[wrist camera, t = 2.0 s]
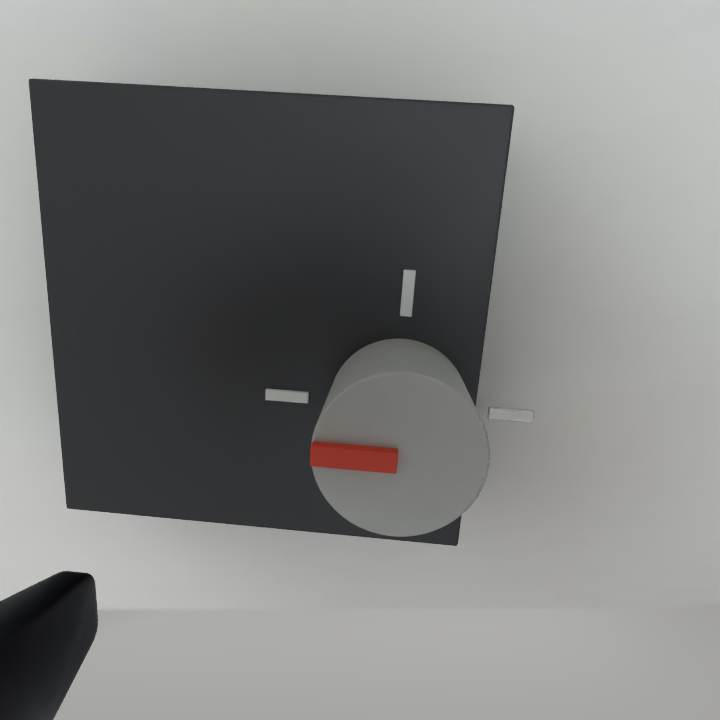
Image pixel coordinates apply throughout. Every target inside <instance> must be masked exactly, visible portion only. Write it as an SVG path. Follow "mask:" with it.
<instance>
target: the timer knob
mask: <svg viewBox="0 0 720 720" xmlns="http://www.w3.org/2000/svg"><path fill="white" fill-rule="evenodd" d="M489 459H490V450H489V441H488V437H487V432H486V430H485V427H484V424H483V422H482V420H481V418H480V416H479V414H478V411H477V409H476V407H475V405H474V403H473V401H472V399H471V397H470V395H469V393H468V390H467V388H466V386H465V384H464V382H463V380H462V378H461V376H460V374H459V372H458V371H457V369H456V368H455V366H454V365H453V364H452V362H451V361H450V360H449V359H448V358H447V357H446V356H445V355H443V354H442V353H441V352H439V351H438V350H436V349H435V348H433V347H431V346H429V345H427V344H424V343H422V342H418V341H415V340H410V339H386V340H382V341H378V342H375V343H372V344H369V345H367V346H365V347H363V348H362V349H360V350H358V351H357V352H356V353H354V354H353V355H352V356H351V357H350V358H349V359H348V360H347V361H346V362H345V363H344V364H343V366H342V367H341V368H340V370H339V372H338V373H337V375H336V377H335V380H334V382H333V384H332V387H331V389H330V392H329V394H328V397H327V399H326V402H325V404H324V407H323V409H322V411H321V414H320V416H319V419H318V421H317V424H316V426H315V429H314V433H313V436H312V442H311V448H310V466H312V470H313V473H314V476H315V480H316V482H317V484H318V486H319V489H320V491H321V492H322V494H323V495H324V497H325V498H326V500H327V501H328V502H329V504H330V505H331V506H332V507H333V508H334V509H335V510H336V511H337V512H338V513H339V514H340V515H341V516H342V517H344V518H345V519H347V520H348V521H349V522H351V523H353V524H355V525H356V526H358V527H360V528H363V529H365V530H367V531H370V532H373V533H377V534H381V535H387V536H398V537H406V536H416V535H421V534H426V533H429V532H432V531H435V530H437V529H440V528H442V527H444V526H446V525H448V524H449V523H451V522H452V521H454V520H456V519H457V518H458V517H459V516H460V515H462V514H463V513H464V512H465V511H466V510H467V509H468V508H469V507H470V506H471V504H472V503H473V502H474V500H475V499H476V498H477V496H478V494H479V493H480V491H481V489H482V487H483V485H484V482H485V479H486V477H487V472H488V468H489Z"/></svg>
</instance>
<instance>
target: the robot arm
mask: <svg viewBox="0 0 720 720" xmlns="http://www.w3.org/2000/svg"><path fill="white" fill-rule="evenodd" d="M97 627H98V615H97V601H96V588H95V580H94V578H93V576H92V575H90V574H88V573H80V572H71V571H63V572H59V573H57V574H55V575H53V576H51V577H49V578H47V579H45V580H43V581H41V582H39V583H37V584H35V585H33V586H30V587H28V588H26V589H24V590H22V591H20V592H18V593H16V594H14V595H12V596H10V597H8V598H6V599H4V600H2V601H0V720H53V719H54V717H55V715H56V713H57V711H58V709H59V707H60V705H61V703H62V702H63V699H64V698H65V696H66V693H67V692H68V690H69V688H70V686H71V684H72V682H73V680H74V678H75V676H76V674H77V672H78V670H79V668H80V666H81V664H82V662H83V660H84V659H85V656H86V654H87V653H88V651H89V649H90V647H91V645H92V643H93V641H94V638H95V635H96V632H97Z"/></svg>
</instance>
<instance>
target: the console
mask: <svg viewBox="0 0 720 720" xmlns="http://www.w3.org/2000/svg"><path fill="white" fill-rule="evenodd" d="M29 89H30V100H31V111H32V122H33V134H34V145H35V156H36V167H37V178H38V190H39V201H40V212H41V223H42V235H43V246H44V257H45V268H46V280H47V291H48V302H49V313H50V324H51V336H52V347H53V358H54V369H55V381H56V392H57V403H58V414H59V426H60V437H61V448H62V459H63V471H64V482H65V493H66V504H67V508H69V509H79V510H90V511H100V512H110V513H121V514H131V515H142V516H152V517H162V518H173V519H183V520H194V521H204V522H214V523H225V524H235V525H246V526H256V527H266V528H277V529H287V530H298V531H308V532H318V533H329V534H339V535H350V536H360V537H370V538H381V539H391V540H402V541H412V542H422V543H433V544H443V545H454V546H456V545H457V544H458V538H459V530H460V522H461V515H460V516H459V517H458V518H457V519H456V520H454V521H452V522H451V523H449V524H448V525H446V526H444V527H442V528H440V529H437V530H435V531H432V532H429V533H426V534H421V535H416V536H406V537H398V536H387V535H381V534H377V533H373V532H370V531H367V530H365V529H363V528H360V527H358V526H356V525H355V524H353V523H351V522H349V521H348V520H347V519H345V518H344V517H342V516H341V515H340V514H339V513H338V512H337V511H336V510H335V509H334V508H333V507H332V506H331V505H330V504H329V502H328V501H327V500H326V498H325V497H324V495H323V494H322V492H321V491H320V489H319V486H318V484H317V482H316V480H315V476H314V473H313V470H312V466H310V448H311V442H312V436H313V433H314V429H315V426H316V424H317V421H318V419H319V416H320V414H321V411H322V409H323V407H324V404H325V402H326V399H327V397H328V394H329V392H330V389H331V387H332V384H333V382H334V380H335V377H336V375H337V373H338V372H339V370H340V368H341V367H342V366H343V364H344V363H345V362H346V361H347V360H348V359H349V358H350V357H351V356H352V355H353V354H354V353H356V352H357V351H358V350H360V349H362V348H363V347H365V346H367V345H369V344H372V343H375V342H378V341H382V340H386V339H410V340H415V341H418V342H422V343H424V344H427V345H429V346H431V347H433V348H435V349H436V350H438V351H439V352H441V353H442V354H443V355H445V356H446V357H447V358H448V359H449V360H450V361H451V362H452V364H453V365H454V366H455V368H456V369H457V371H458V372H459V374H460V376H461V378H462V380H463V382H464V384H465V386H466V388H467V390H468V393H469V395H470V397H471V399H472V401H473V403H474V405H475V407H476V399H477V392H478V384H479V376H480V369H481V361H482V353H483V345H484V338H485V330H486V322H487V315H488V307H489V299H490V292H491V284H492V276H493V268H494V261H495V253H496V245H497V238H498V230H499V222H500V215H501V207H502V199H503V192H504V184H505V176H506V168H507V161H508V153H509V145H510V138H511V130H512V122H513V115H514V106H513V105H502V104H484V103H466V102H448V101H430V100H411V99H393V98H375V97H357V96H339V95H321V94H302V93H284V92H266V91H248V90H230V89H211V88H193V87H175V86H157V85H139V84H121V83H102V82H84V81H66V80H48V79H29ZM533 417H534V411H533V410H522V409H509V408H497V407H489V410H488V419H498V420H510V421H521V422H533Z"/></svg>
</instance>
